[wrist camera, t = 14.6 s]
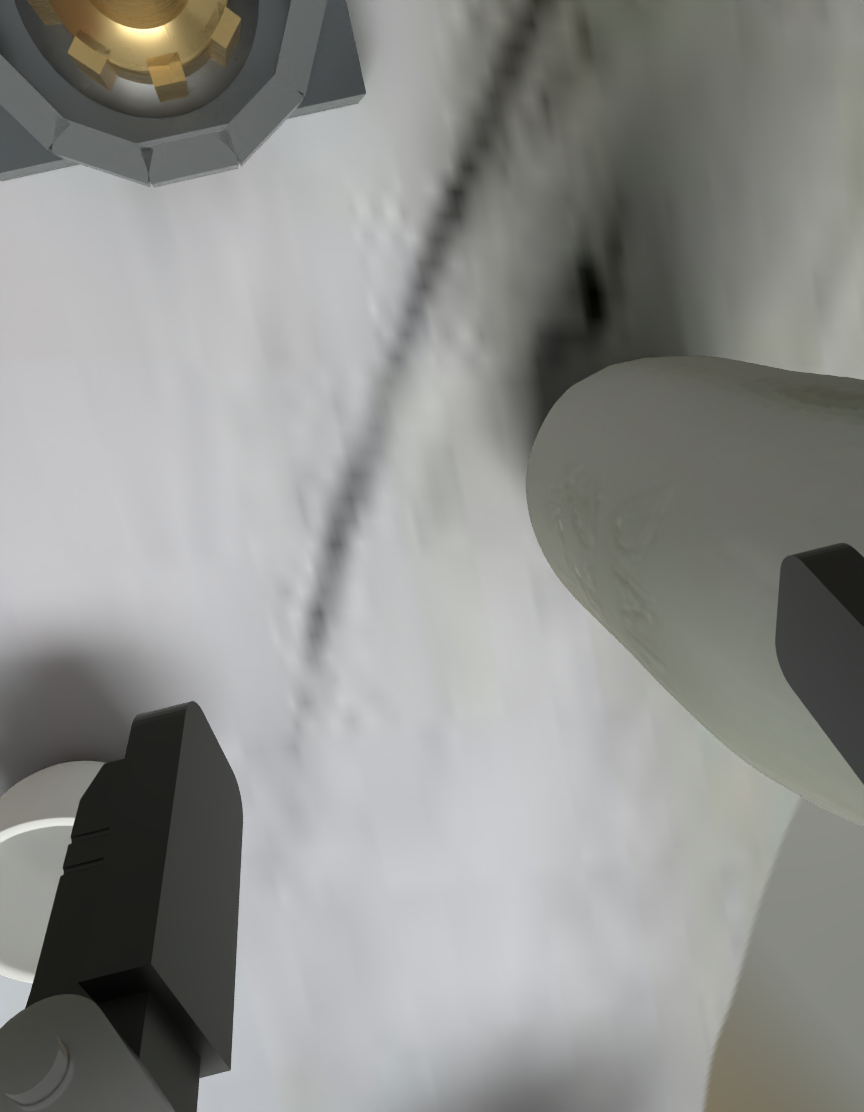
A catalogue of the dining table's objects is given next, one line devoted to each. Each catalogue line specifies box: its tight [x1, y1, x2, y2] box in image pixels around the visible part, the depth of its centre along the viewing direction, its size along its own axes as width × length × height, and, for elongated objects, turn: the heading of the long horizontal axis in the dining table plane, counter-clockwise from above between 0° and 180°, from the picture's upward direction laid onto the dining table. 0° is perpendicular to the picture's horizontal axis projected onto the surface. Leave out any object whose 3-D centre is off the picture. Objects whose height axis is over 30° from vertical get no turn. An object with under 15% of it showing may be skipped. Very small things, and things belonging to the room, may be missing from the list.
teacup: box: [0, 761, 105, 983], centre depth 32 cm, size 10×8×5 cm
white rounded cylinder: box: [526, 356, 864, 827], centre depth 22 cm, size 10×10×28 cm
